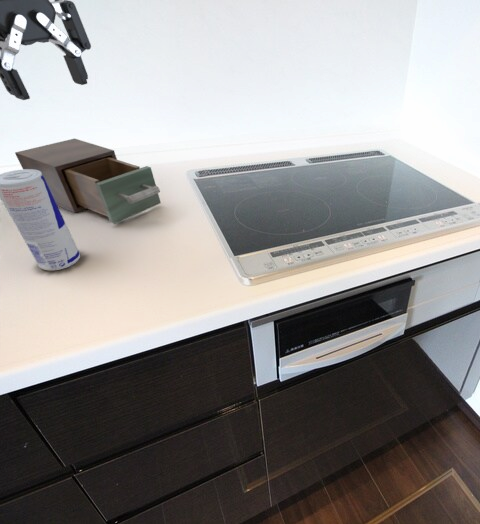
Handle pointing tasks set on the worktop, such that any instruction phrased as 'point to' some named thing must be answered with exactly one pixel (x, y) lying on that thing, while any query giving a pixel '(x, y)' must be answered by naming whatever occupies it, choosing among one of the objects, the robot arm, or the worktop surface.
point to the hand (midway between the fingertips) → (53, 90)
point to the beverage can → (38, 218)
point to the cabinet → (62, 166)
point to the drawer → (113, 187)
